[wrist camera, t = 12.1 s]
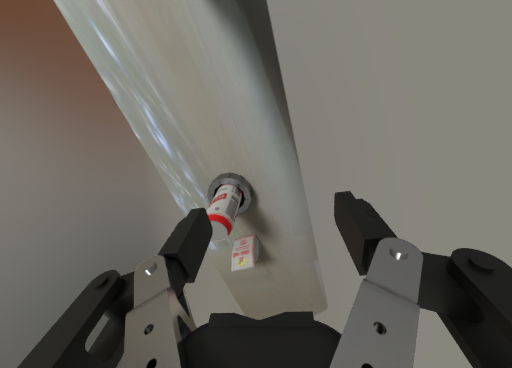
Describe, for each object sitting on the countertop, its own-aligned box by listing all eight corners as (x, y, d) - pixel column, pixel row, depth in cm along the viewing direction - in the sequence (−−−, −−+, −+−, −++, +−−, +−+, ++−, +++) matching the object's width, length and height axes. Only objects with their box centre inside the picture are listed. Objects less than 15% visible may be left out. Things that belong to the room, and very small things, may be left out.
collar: (203, 189, 49) (199, 194, 46) (231, 164, 45) (228, 169, 42) (231, 214, 52) (229, 221, 50) (260, 194, 48) (259, 200, 46)
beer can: (247, 192, 48) (237, 235, 34) (230, 204, 50) (214, 248, 36) (232, 175, 46) (214, 213, 32) (215, 188, 48) (191, 228, 34)
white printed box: (259, 242, 57) (257, 271, 48) (240, 247, 58) (234, 275, 49) (255, 234, 55) (251, 262, 46) (235, 239, 57) (228, 267, 48)
